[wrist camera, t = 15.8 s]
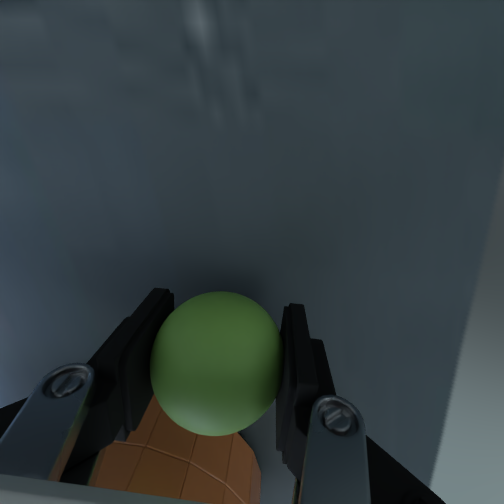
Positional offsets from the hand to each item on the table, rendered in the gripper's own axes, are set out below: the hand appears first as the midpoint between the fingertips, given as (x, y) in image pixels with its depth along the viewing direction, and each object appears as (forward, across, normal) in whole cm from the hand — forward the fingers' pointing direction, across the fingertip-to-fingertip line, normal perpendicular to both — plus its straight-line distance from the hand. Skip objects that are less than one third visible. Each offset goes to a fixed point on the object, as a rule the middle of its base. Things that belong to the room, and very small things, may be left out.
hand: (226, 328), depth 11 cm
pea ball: (-2, 0, 0) cm, 2 cm away
